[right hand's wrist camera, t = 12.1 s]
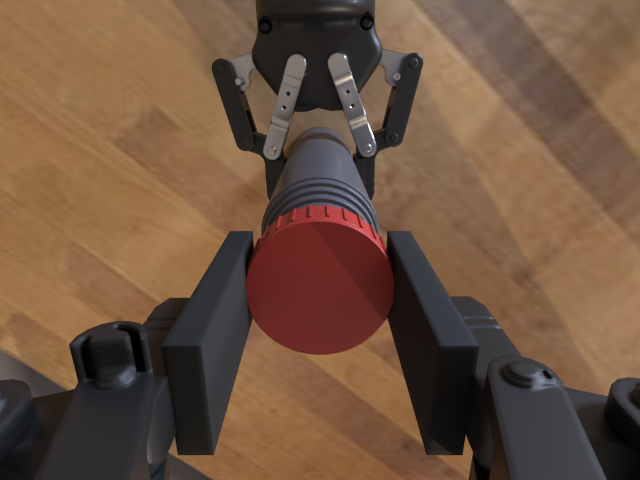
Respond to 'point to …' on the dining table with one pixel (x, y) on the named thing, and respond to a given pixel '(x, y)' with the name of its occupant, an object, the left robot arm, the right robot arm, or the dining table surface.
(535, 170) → the dining table surface
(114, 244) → the dining table surface
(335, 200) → the bottle
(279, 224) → the cap
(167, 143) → the dining table surface
